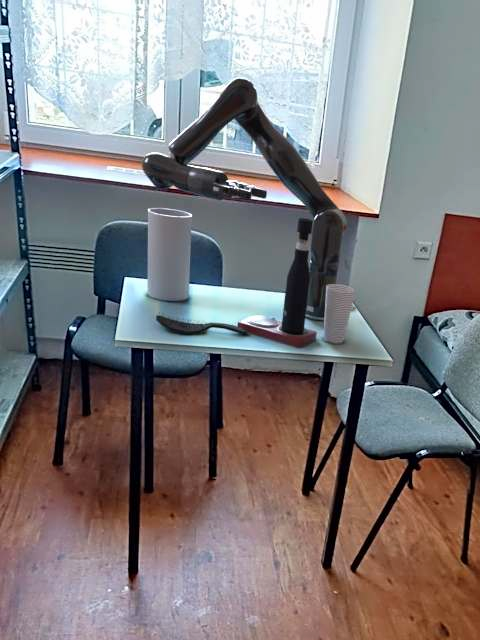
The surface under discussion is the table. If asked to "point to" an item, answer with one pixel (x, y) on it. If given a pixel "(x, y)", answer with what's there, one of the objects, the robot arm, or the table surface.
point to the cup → (337, 311)
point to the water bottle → (298, 282)
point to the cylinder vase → (169, 254)
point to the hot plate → (276, 331)
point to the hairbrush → (194, 326)
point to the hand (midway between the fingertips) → (258, 195)
